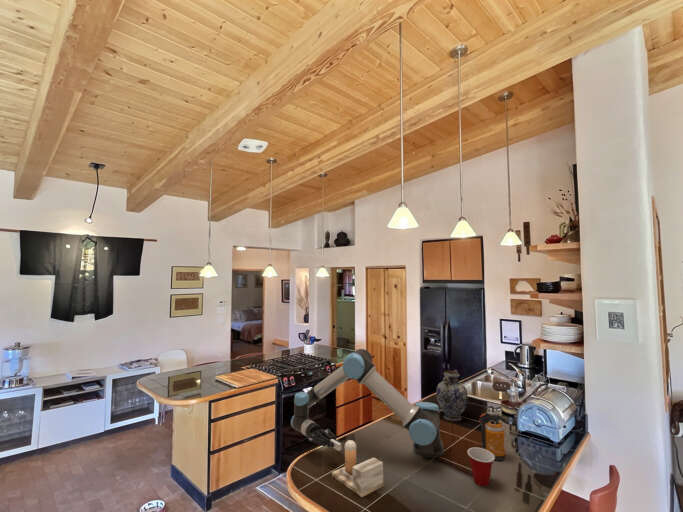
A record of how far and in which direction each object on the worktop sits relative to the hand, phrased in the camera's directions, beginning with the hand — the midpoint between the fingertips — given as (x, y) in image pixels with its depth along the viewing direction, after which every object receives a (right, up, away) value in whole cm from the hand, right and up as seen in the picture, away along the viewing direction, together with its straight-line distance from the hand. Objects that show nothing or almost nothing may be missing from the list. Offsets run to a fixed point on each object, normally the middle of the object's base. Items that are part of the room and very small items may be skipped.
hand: (339, 447), depth 161 cm
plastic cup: (+60, -8, -12) cm, 62 cm away
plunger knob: (+5, -8, -6) cm, 11 cm away
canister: (+74, -9, +9) cm, 75 cm away
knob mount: (+7, -9, -10) cm, 15 cm away
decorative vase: (+69, -13, +56) cm, 90 cm away
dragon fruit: (+85, -11, +41) cm, 95 cm away
